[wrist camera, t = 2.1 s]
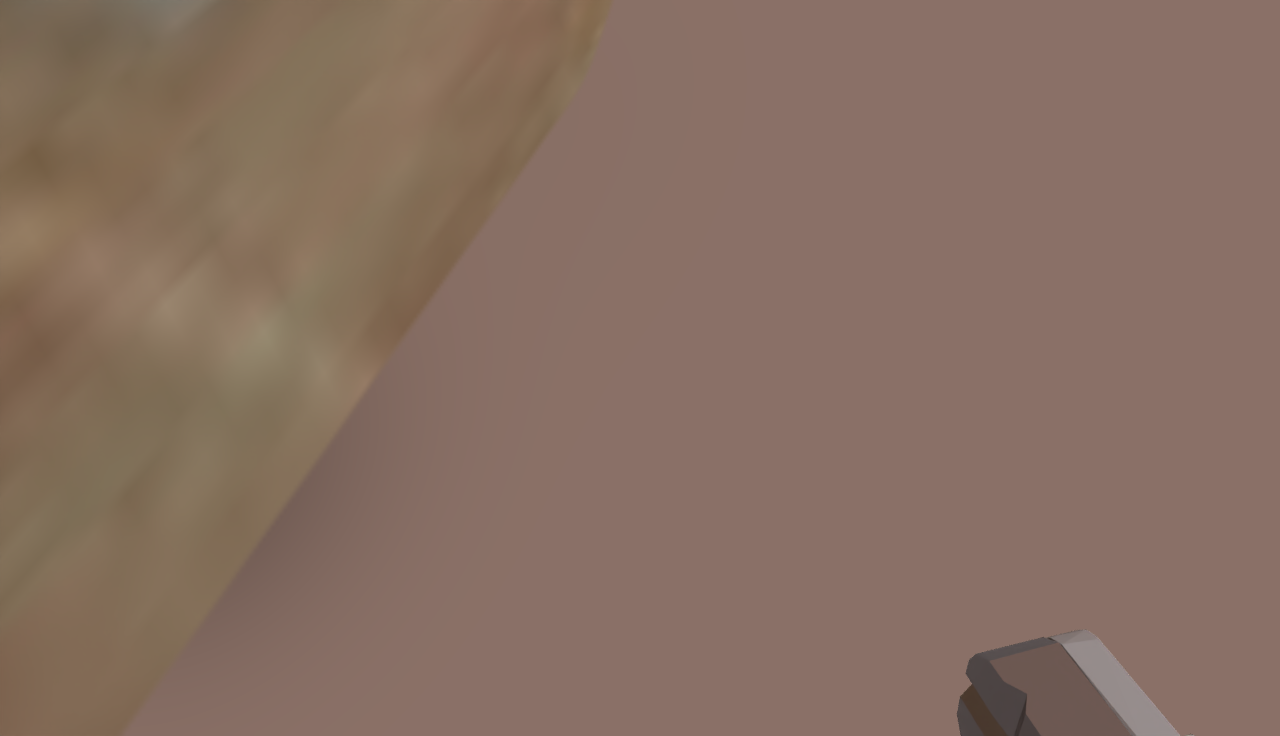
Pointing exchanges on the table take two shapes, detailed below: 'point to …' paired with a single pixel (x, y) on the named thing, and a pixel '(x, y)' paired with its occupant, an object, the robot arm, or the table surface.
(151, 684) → the table surface
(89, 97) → the table surface
